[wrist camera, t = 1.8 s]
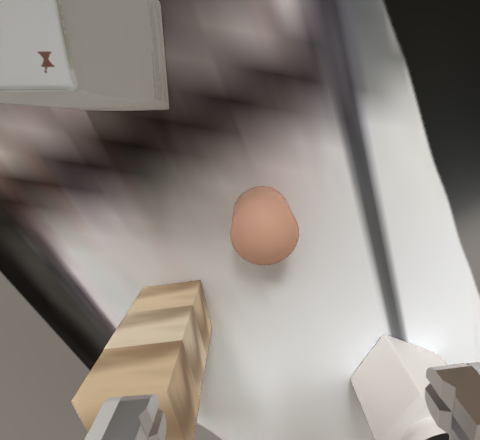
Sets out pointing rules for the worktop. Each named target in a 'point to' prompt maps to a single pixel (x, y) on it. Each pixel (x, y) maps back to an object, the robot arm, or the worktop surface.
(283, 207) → the pink rounded cylinder
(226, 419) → the worktop surface
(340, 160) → the worktop surface
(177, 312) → the tower mid
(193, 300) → the tower base
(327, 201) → the worktop surface
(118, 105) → the supplement box
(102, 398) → the tower top
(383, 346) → the medicine bottle
